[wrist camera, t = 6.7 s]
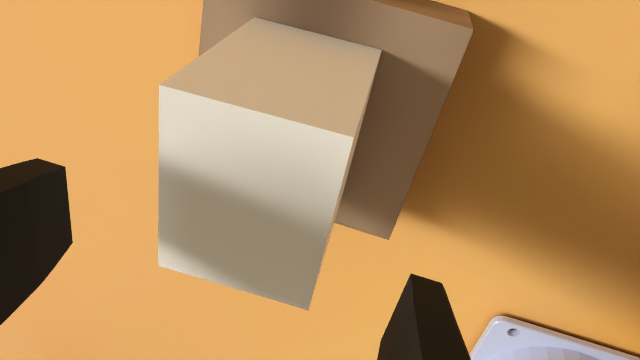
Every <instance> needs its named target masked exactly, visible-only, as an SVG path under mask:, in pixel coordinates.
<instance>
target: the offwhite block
mask: <svg viewBox="0 0 640 360" xmlns="http://www.w3.org/2000/svg"><path fill="white" fill-rule="evenodd" d="M381 51H382V50H380V49H376V48H373V47H369V46H365V45H361V44H357V43H353V42H349V41H345V40H341V39H338V38H334V37H330V36H326V35H322V34H318V33H314V32H310V31H306V30H303V29H299V28H295V27H291V26H287V25H283V24H279V23H275V22H271V21H268V20H264V19H260V18H256V17H254V18H252V19H251V20H250V21H248V22H247V23H245V24H244V25H243V26H241V27H240V28H238V29H237V30H235V31H234V32H233V33H231V34H230V35H228V36H227V37H226V38H224V39H223V40H221V41H220V42H219V43H217V44H216V45H214V46H213V47H212V48H210V49H209V50H207V51H206V52H205V53H203V54H202V55H200V56H199V57H198V58H196V59H195V60H193V61H192V62H191V63H189V64H188V65H186V66H185V67H184V68H182V69H181V70H179V71H178V72H177V73H175V74H174V75H172V76H171V77H170V78H168V79H167V80H165V81H164V82H163V83H161V84H160V85H159V220H158V266H161V267H164V268H168V269H171V270H175V271H178V272H181V273H185V274H188V275H191V276H195V277H198V278H202V279H205V280H208V281H212V282H215V283H218V284H222V285H225V286H228V287H232V288H235V289H239V290H242V291H245V292H249V293H252V294H255V295H259V296H262V297H266V298H269V299H272V300H276V301H279V302H282V303H286V304H289V305H292V306H296V307H299V308H303V309H306V310H308V309H309V306H310V302H311V299H312V296H313V292H314V289H315V285H316V282H317V279H318V275H319V272H320V269H321V265H322V262H323V258H324V255H325V252H326V248H327V245H328V241H329V238H330V235H331V231H332V228H333V225H334V221H335V218H336V214H337V211H338V208H339V204H340V201H341V197H342V194H343V191H344V187H345V184H346V180H347V176H348V173H349V169H350V165H351V162H352V158H353V154H354V151H355V147H356V143H357V139H358V136H359V132H360V128H361V125H362V121H363V117H364V114H365V110H366V106H367V102H368V99H369V95H370V91H371V88H372V84H373V80H374V77H375V73H376V69H377V66H378V62H379V58H380V54H381Z"/></svg>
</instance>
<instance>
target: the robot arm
mask: <svg viewBox="0 0 640 360" xmlns="http://www.w3.org/2000/svg"><path fill="white" fill-rule="evenodd" d="M72 243H73V241H72V231H71V221H70V211H69V201H68V190H67V180H66V170H65V167H64V166H61V165H57V164H54V163H51V162H48V161H44V160H41V159H38V158H37V159H33V160H29V161H25V162H21V163H17V164H13V165H10V166H7V167H3V168H0V325H1V324H2V323H3V322H4V321H5V320H6V319H7V318H8V317H9V316H10V315H11V314H12V313H13V312H14V311H15V310H16V309H17V308H18V307H19V306H20V305H21V304H22V303H23V302H24V301H25V300H26V299H27V298H28V297H29V296H30V295H31V294H32V293H33V292H34V291H35V290H36V289H37V288H38V287H39V285H40V284H41V283H42V282H43V281H44V280H45V278H46V277H47V276H48V275H49V273H50V272H51V271H52V270H53V268H54V267H55V266H56V265H57V263H58V262H59V260H60V259H61V258H62V256H63V255H64V254H65V252H66V251H67V250H68V248H69V247H70V245H71V244H72ZM509 329H515V330H509ZM377 360H640V358H639V357H636V356H633V355H630V354H626V353H623V352H620V351H617V350H613V349H610V348H607V347H604V346H601V345H597V344H594V343H591V342H588V341H584V340H581V339H578V338H575V337H572V336H568V335H565V334H562V333H559V332H555V331H552V330H549V329H546V328H542V327H539V326H536V325H533V324H530V323H526V322H523V321H520V320H517V319H513V318H510V317H507V316H496V317H494V318H493V319H492V320H491V321H490V323H489V324H488V326H487V327H486V329H485V331H484V332H483V334H482V335H481V337H480V338H479V340H478V342H477V343H476V345H475V346H474V348H473V350H472V351H471V353H470V354H469V353H468V351H467V348H466V345H465V343H464V340H463V338H462V335H461V333H460V330H459V327H458V325H457V322H456V319H455V316H454V314H453V311H452V308H451V305H450V302H449V300H448V297H447V294H446V291H445V289H444V287H443V285H442V283H440V282H436V281H433V280H430V279H427V278H423V277H420V276H417V275H414V274H410V277H409V279H408V281H407V283H406V286H405V288H404V290H403V292H402V294H401V297H400V299H399V301H398V303H397V306H396V308H395V310H394V312H393V315H392V317H391V319H390V321H389V323H388V326H387V328H386V330H385V332H384V335H383V337H382V339H381V342H380V348H379V353H378V359H377Z"/></svg>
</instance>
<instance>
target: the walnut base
mask: <svg viewBox="0 0 640 360" xmlns="http://www.w3.org/2000/svg"><path fill="white" fill-rule="evenodd" d="M254 17H256V18H260V19H264V20H268V21H271V22H275V23H279V24H283V25H287V26H291V27H295V28H299V29H303V30H306V31H310V32H314V33H318V34H322V35H326V36H330V37H334V38H338V39H341V40H345V41H349V42H353V43H357V44H361V45H365V46H369V47H373V48H376V49H380V50H382V51H381V54H380V58H379V62H378V66H377V69H376V73H375V77H374V80H373V84H372V88H371V91H370V95H369V99H368V102H367V106H366V110H365V114H364V117H363V121H362V125H361V128H360V132H359V136H358V139H357V143H356V147H355V151H354V154H353V158H352V162H351V165H350V169H349V173H348V176H347V180H346V184H345V187H344V191H343V194H342V197H341V201H340V204H339V208H338V211H337V214H336V218H335V221H334V223H337V224H340V225H343V226H346V227H350V228H353V229H356V230H359V231H362V232H365V233H369V234H372V235H375V236H378V237H381V238H384V239H388V240H389V238H390V236H391V233H392V231H393V228H394V226H395V223H396V221H397V218H398V216H399V214H400V211H401V209H402V206H403V204H404V201H405V199H406V196H407V194H408V191H409V189H410V186H411V184H412V181H413V179H414V176H415V174H416V172H417V169H418V167H419V164H420V162H421V159H422V157H423V154H424V152H425V149H426V147H427V144H428V142H429V139H430V137H431V134H432V132H433V130H434V127H435V125H436V122H437V120H438V117H439V115H440V112H441V110H442V107H443V105H444V102H445V100H446V97H447V95H448V93H449V90H450V88H451V85H452V83H453V80H454V78H455V75H456V73H457V70H458V68H459V65H460V63H461V60H462V58H463V55H464V53H465V51H466V48H467V46H468V43H469V41H470V38H471V36H472V33H473V31H474V28H473V25H472V21H471V18H470V14H469V11H466V10H463V9H459V8H456V7H452V6H449V5H445V4H442V3H438V2H435V1H431V0H204V1H203V12H202V24H201V35H200V46H199V56H200V55H202V54H203V53H205V52H206V51H207V50H209V49H210V48H212V47H213V46H214V45H216V44H217V43H219V42H220V41H221V40H223V39H224V38H226V37H227V36H228V35H230V34H231V33H233V32H234V31H235V30H237V29H238V28H240V27H241V26H243V25H244V24H245V23H247V22H248V21H250V20H251V19H252V18H254Z"/></svg>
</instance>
